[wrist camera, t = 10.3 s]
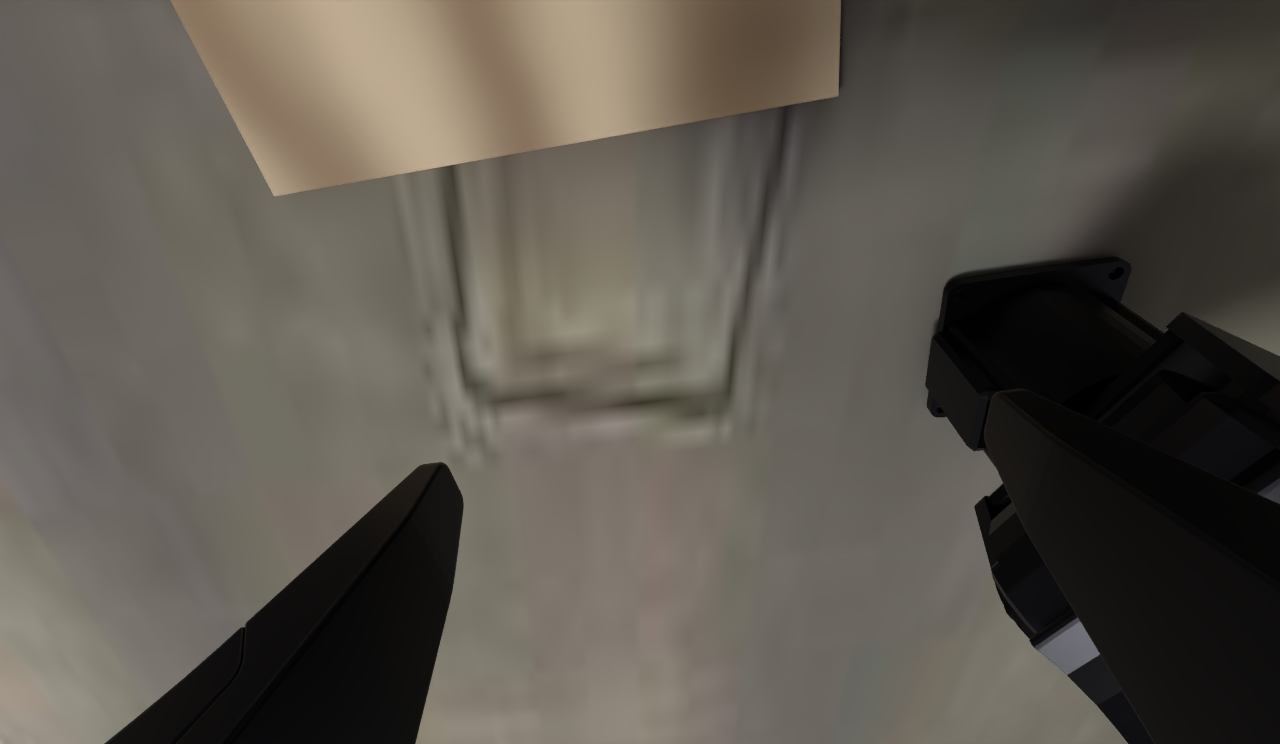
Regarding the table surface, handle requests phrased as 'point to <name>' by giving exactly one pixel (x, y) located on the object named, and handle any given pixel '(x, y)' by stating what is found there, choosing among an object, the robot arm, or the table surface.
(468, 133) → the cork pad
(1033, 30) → the table surface
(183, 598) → the table surface
